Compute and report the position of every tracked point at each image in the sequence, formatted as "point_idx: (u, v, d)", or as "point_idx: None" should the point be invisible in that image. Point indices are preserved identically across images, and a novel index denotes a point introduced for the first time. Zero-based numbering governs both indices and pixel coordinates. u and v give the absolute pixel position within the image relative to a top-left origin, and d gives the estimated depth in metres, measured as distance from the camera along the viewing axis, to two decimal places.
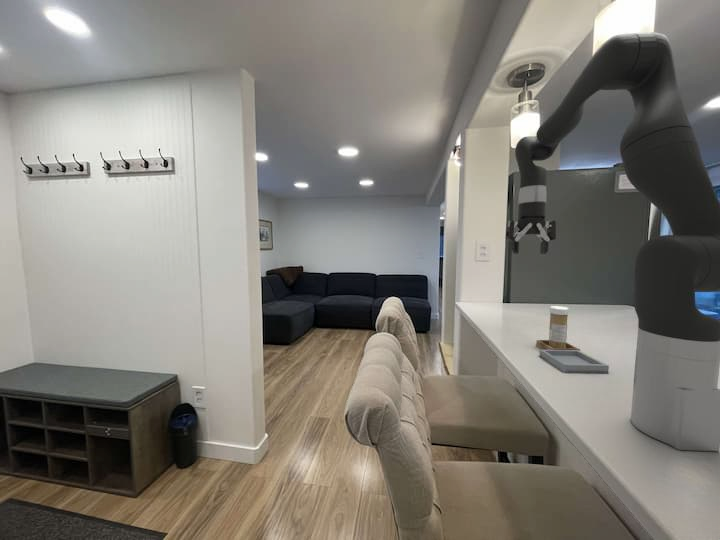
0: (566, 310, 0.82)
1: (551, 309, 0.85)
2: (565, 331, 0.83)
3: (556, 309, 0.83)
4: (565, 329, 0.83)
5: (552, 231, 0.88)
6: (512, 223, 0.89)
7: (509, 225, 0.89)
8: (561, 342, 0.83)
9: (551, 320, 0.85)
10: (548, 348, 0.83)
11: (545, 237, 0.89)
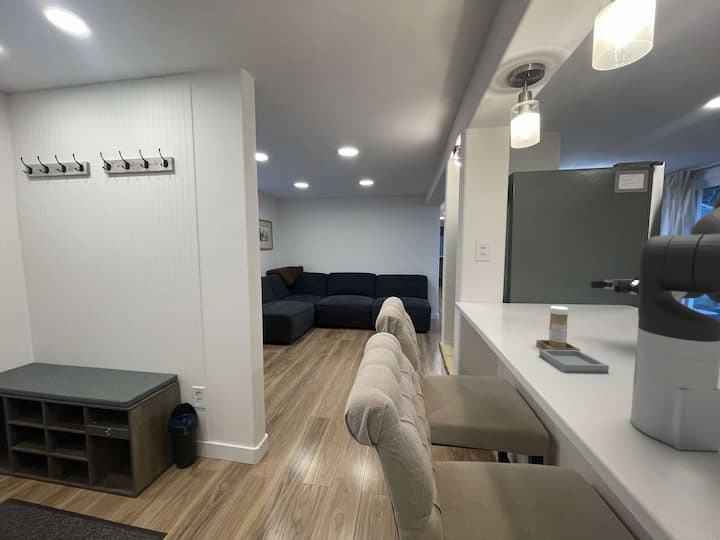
0: (566, 310, 0.82)
1: (551, 309, 0.85)
2: (565, 331, 0.83)
3: (556, 309, 0.83)
4: (565, 329, 0.83)
5: None
6: None
7: None
8: (561, 342, 0.83)
9: (551, 320, 0.85)
10: (548, 348, 0.83)
11: (633, 284, 0.79)
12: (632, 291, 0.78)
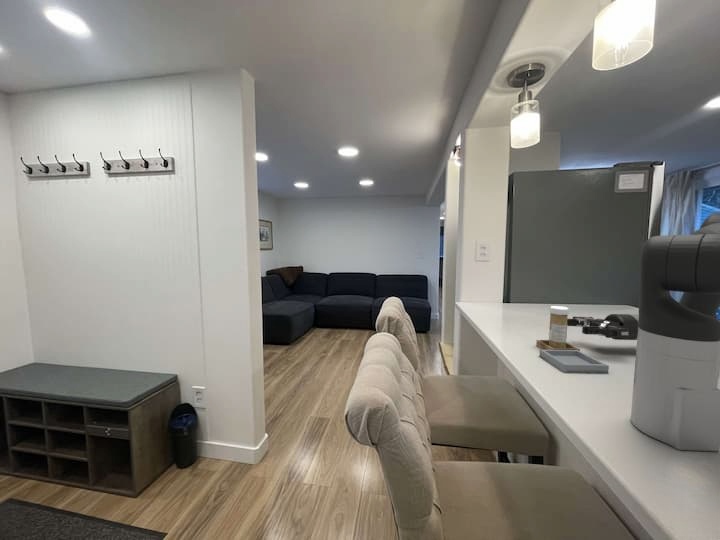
0: (566, 310, 0.82)
1: (551, 309, 0.85)
2: (565, 331, 0.83)
3: (556, 309, 0.83)
4: (565, 329, 0.83)
5: (614, 328, 0.78)
6: (589, 317, 0.90)
7: None
8: (561, 342, 0.83)
9: (551, 320, 0.85)
10: (548, 348, 0.83)
11: (601, 326, 0.80)
12: (600, 333, 0.79)
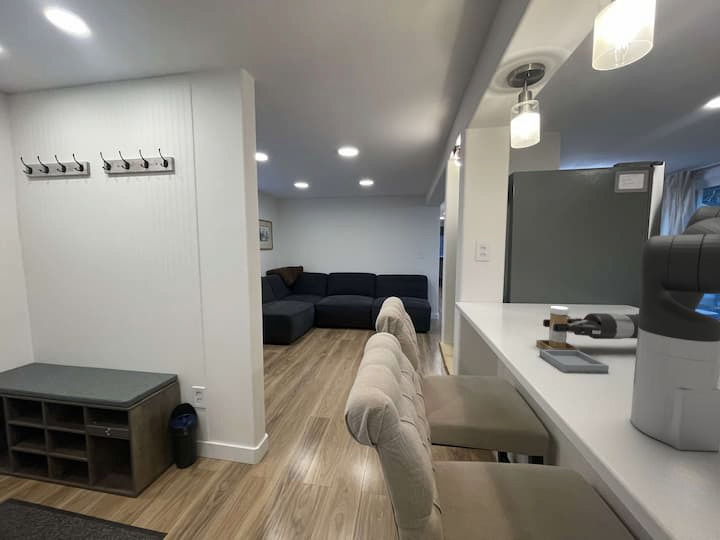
0: (566, 310, 0.82)
1: (551, 309, 0.85)
2: None
3: (556, 309, 0.83)
4: None
5: (585, 326, 0.80)
6: (567, 316, 0.90)
7: None
8: (561, 342, 0.83)
9: (551, 320, 0.85)
10: (548, 348, 0.83)
11: (572, 323, 0.82)
12: (568, 330, 0.82)
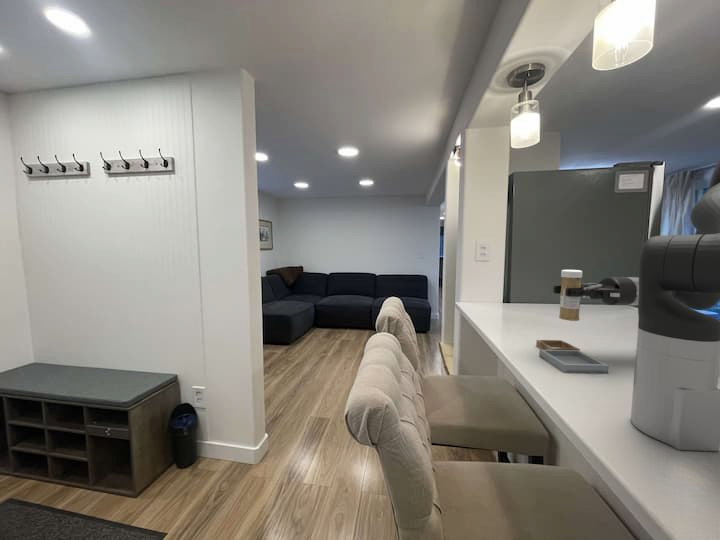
0: (580, 272, 0.74)
1: (563, 272, 0.76)
2: None
3: (569, 272, 0.74)
4: None
5: (602, 289, 0.71)
6: None
7: None
8: (575, 308, 0.74)
9: (563, 285, 0.76)
10: (548, 348, 0.83)
11: (587, 287, 0.73)
12: (583, 295, 0.73)
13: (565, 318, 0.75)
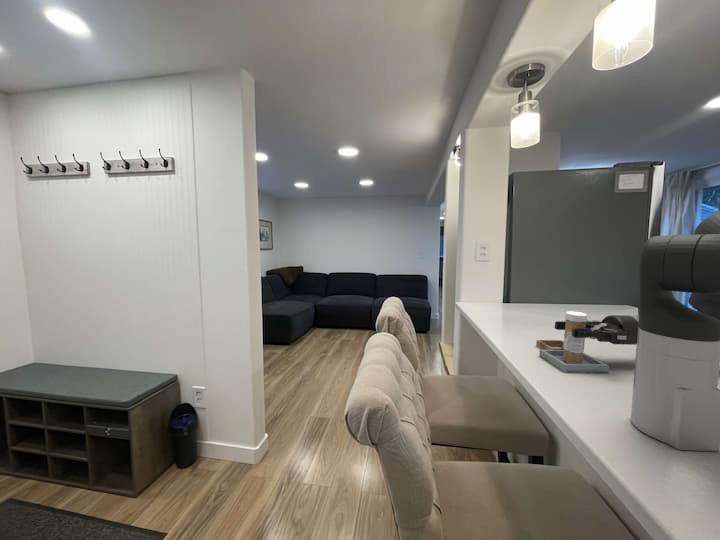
0: (584, 316, 0.72)
1: (567, 315, 0.74)
2: (583, 340, 0.73)
3: (573, 316, 0.73)
4: (582, 338, 0.73)
5: (609, 331, 0.69)
6: None
7: None
8: (578, 352, 0.73)
9: (567, 327, 0.75)
10: (548, 348, 0.83)
11: (594, 328, 0.71)
12: (591, 336, 0.70)
13: (568, 361, 0.74)
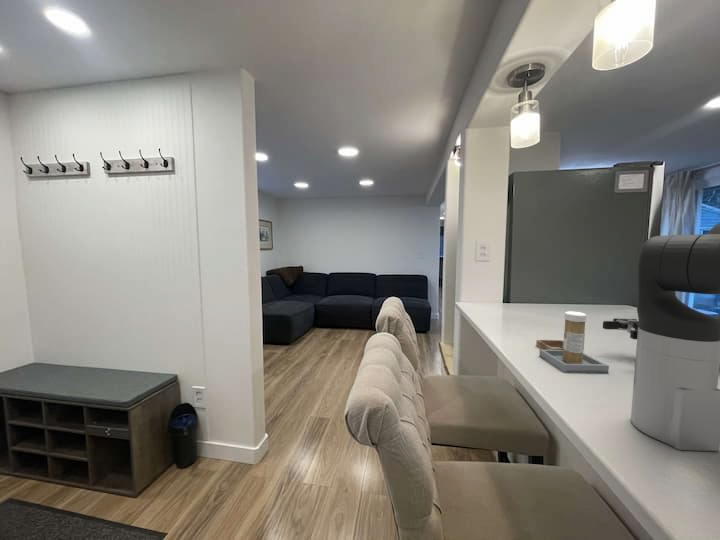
0: (584, 316, 0.72)
1: (566, 315, 0.74)
2: (582, 340, 0.73)
3: (572, 316, 0.73)
4: (582, 338, 0.73)
5: None
6: (633, 319, 0.80)
7: None
8: (578, 352, 0.73)
9: (566, 328, 0.75)
10: (548, 348, 0.83)
11: None
12: None
13: (568, 361, 0.74)
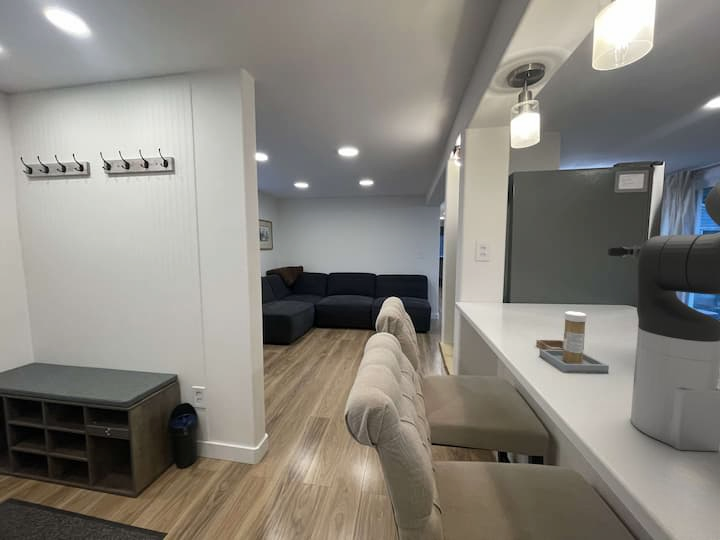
0: (584, 316, 0.72)
1: (566, 315, 0.75)
2: (582, 340, 0.73)
3: (572, 316, 0.73)
4: (582, 338, 0.73)
5: None
6: None
7: None
8: (578, 352, 0.73)
9: (566, 328, 0.75)
10: (548, 348, 0.83)
11: None
12: None
13: (568, 361, 0.74)
